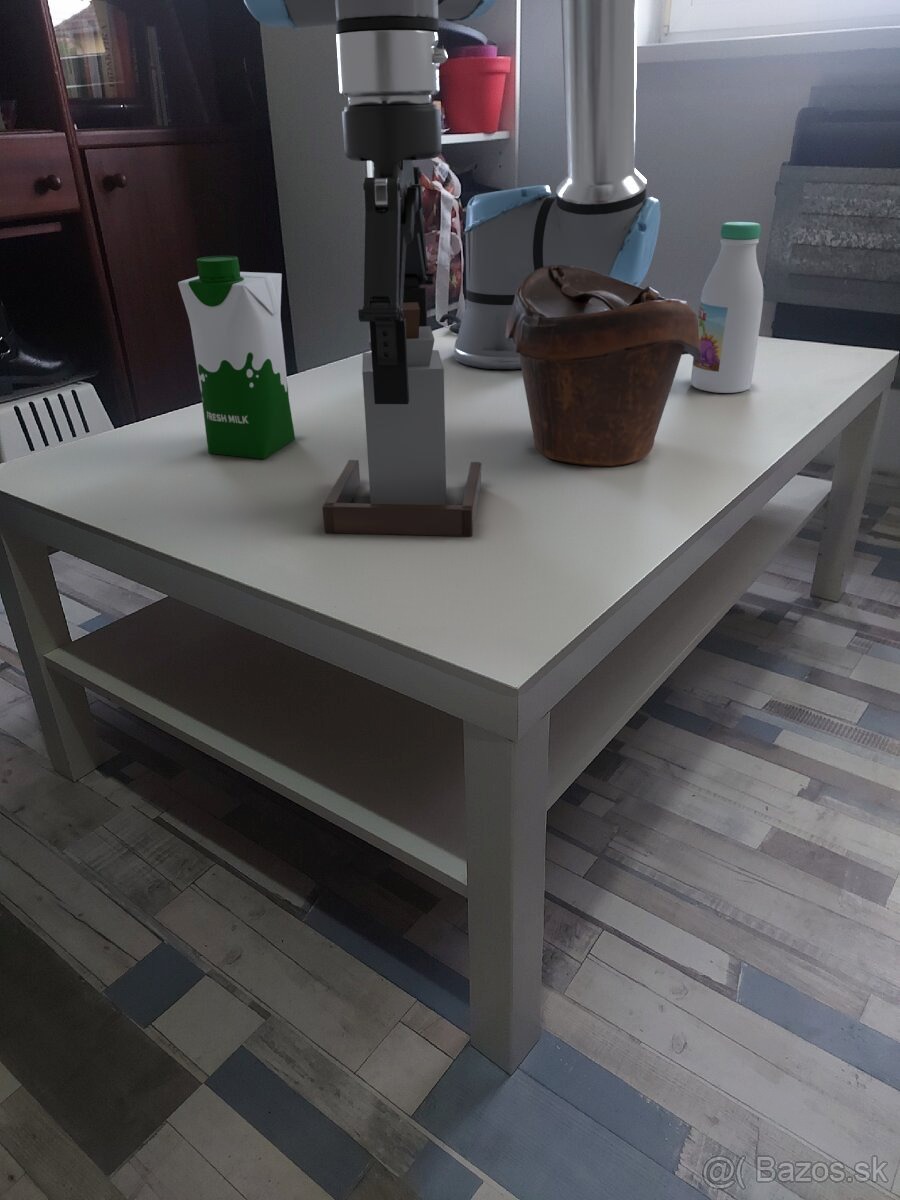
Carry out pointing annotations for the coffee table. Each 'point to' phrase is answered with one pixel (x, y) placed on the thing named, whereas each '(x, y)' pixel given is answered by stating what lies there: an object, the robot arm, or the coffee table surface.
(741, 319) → the milk bottle
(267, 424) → the milk carton
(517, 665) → the coffee table surface
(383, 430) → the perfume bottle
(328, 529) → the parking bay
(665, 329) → the case
